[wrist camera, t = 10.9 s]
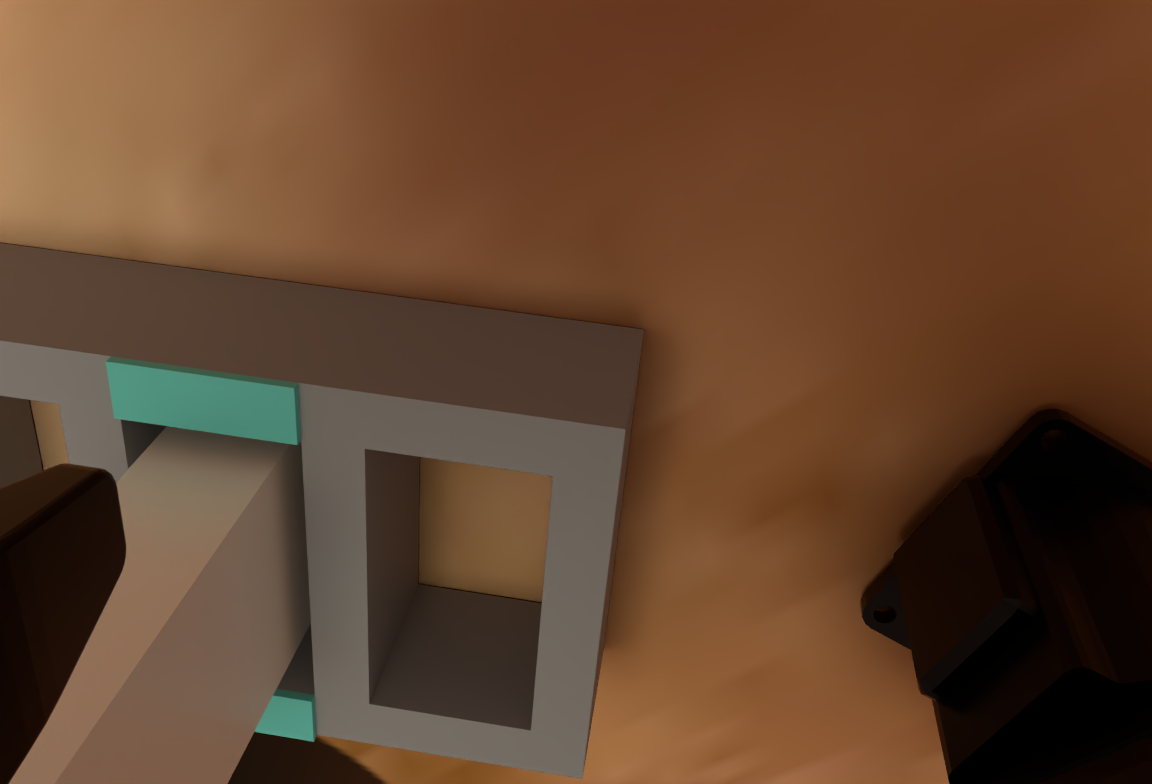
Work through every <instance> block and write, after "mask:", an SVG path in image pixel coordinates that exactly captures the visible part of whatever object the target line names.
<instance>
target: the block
mask: <svg viewBox="0 0 1152 784" xmlns="http://www.w3.org/2000/svg"><path fill="white" fill-rule="evenodd" d="M116 485H117V489H118V495H119V502H120V508H121V514H122V521H123V527H124V533H125V539H126V559H125V564H124V567H123V570H122V573H121V575H120V577H119V579H118V581H117V583H116V585H115V588H114V590H113V592H112V594H111V596H110V598H109V600H108V602H107V604H106V606H105V608H104V610H103V612H102V614H101V616H100V618H99V620H98V622H97V624H96V626H95V628H94V630H93V632H92V634H91V636H90V638H89V640H88V642H87V644H86V646H85V648H84V650H83V652H82V654H81V656H80V658H79V660H78V662H77V664H76V666H75V668H74V671H73V673H72V675H71V677H70V679H69V681H68V683H67V685H66V687H65V689H64V691H63V693H62V695H61V697H60V699H59V701H58V703H57V704H56V706H55V708H54V710H53V712H52V714H51V716H50V718H49V719H48V721H47V723H46V725H45V726H44V728H43V730H42V731H41V733H40V735H39V736H38V738H37V740H36V741H35V743H34V745H33V746H32V748H31V750H30V751H29V753H28V754H27V756H26V757H25V759H24V761H23V762H22V764H21V765H20V767H19V768H18V770H17V772H16V773H15V775H14V776H13V778H12V779H11V781H10V783H9V784H227V783H228V781H229V779H230V778H231V775H232V773H233V772H234V770H235V768H236V766H237V764H238V762H239V760H240V758H241V756H242V754H243V752H244V750H245V749H246V747H247V745H248V743H249V741H250V739H251V737H252V735H253V733H254V731H255V729H256V727H257V725H258V724H259V722H260V720H261V718H262V716H263V714H264V712H265V710H266V708H267V706H268V704H269V702H270V700H271V698H272V697H273V695H274V693H275V691H276V689H277V687H278V685H279V683H280V681H281V679H282V677H283V675H284V673H285V671H286V670H287V668H288V666H289V664H290V662H291V660H292V658H293V656H294V654H295V652H296V650H297V648H298V646H299V645H300V643H301V641H302V639H303V637H304V635H305V633H306V631H307V629H308V627H309V625H310V623H311V615H310V596H309V577H308V558H307V539H306V520H305V501H304V483H303V464H302V445H301V440H300V442H299V443H298V445H293V444H286V443H279V442H272V441H265V440H259V439H252V438H245V437H238V436H231V435H224V434H218V433H211V432H204V431H197V430H190V429H183V428H177V427H170V426H167V427H166V428H165V429H164V430H163V431H162V432H161V433H160V434H159V436H158V437H157V438H156V439H155V440H154V441H153V442H152V443H151V444H150V446H149V447H148V448H147V449H146V450H145V451H144V452H143V453H142V454H141V455H140V457H139V458H138V459H137V460H136V461H135V462H134V463H133V464H132V465H131V467H130V468H129V469H128V470H127V471H126V472H125V473H124V474H123V475H122V477H121V478H120V479H119V480H118V481H117V482H116Z"/></svg>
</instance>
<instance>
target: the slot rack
mask: <svg viewBox="0 0 1152 784" xmlns="http://www.w3.org/2000/svg"><path fill="white" fill-rule="evenodd" d="M643 334H644V330H643V329H636V328H629V327H621V326H614V325H606V324H599V323H591V322H584V321H577V320H569V319H562V318H554V317H547V316H539V315H532V314H525V313H517V312H510V311H502V310H495V309H487V308H480V307H472V306H465V305H458V304H450V303H443V302H435V301H428V300H420V299H413V298H406V297H398V296H391V295H383V294H376V293H368V292H361V291H354V290H346V289H339V288H331V287H324V286H316V285H309V284H302V283H294V282H287V281H279V280H272V279H264V278H257V277H250V276H242V275H235V274H227V273H220V272H212V271H205V270H198V269H190V268H183V267H175V266H168V265H160V264H153V263H146V262H138V261H131V260H123V259H116V258H108V257H101V256H93V255H86V254H79V253H71V252H64V251H56V250H49V249H41V248H34V247H27V246H19V245H12V244H4V243H0V488H2V487H4V486H7V485H9V484H11V483H14V482H16V481H19V480H21V479H24V478H26V477H29V476H31V475H34V474H36V473H39V472H41V471H43V469H42V464H41V459H40V454H39V449H38V444H37V439H36V434H35V429H34V424H33V419H32V414H31V409H30V404H29V400H34V401H41V402H48V403H55V404H59V409H60V415H61V420H62V426H63V431H64V437H65V442H66V448H67V453H68V459H69V464H75V465H82V466H88V467H95V468H102V469H105V470H107V471H108V472H110V473H111V474H112V475H113V477H114V479H115V481H116V482H117V481H118V480H119V479H120V478H121V477H122V475H123V474H124V473H125V472H126V471H127V470H128V469H129V468H130V467H131V465H132V464H133V463H134V462H135V461H136V460H137V459H138V458H139V457H140V455H141V454H142V453H143V452H144V451H145V450H146V449H147V448H148V447H149V446H150V444H151V443H152V442H153V441H154V440H155V439H156V438H157V437H158V436H159V434H160V433H161V432H162V431H163V430H164V429H165V428H166V427H167V426H170V427H177V428H183V429H190V430H197V431H204V432H211V433H218V434H224V435H231V436H238V437H245V438H252V439H259V440H265V441H272V442H279V443H286V444H293V445H298V443H299V442H300V440H301V445H302V464H303V483H304V501H305V520H306V539H307V558H308V577H309V596H310V615H311V623H310V625H309V627H308V629H307V631H306V633H305V635H304V637H303V639H302V641H301V643H300V645H299V646H298V648H297V650H296V652H295V654H294V656H293V658H292V660H291V662H290V664H289V666H288V668H287V670H286V671H285V673H284V675H283V677H282V679H281V681H280V683H279V685H278V687H277V689H276V691H275V693H274V695H273V697H272V698H271V700H270V702H269V704H268V706H267V708H266V710H265V712H264V714H263V716H262V718H261V720H260V722H259V724H258V725H257V727H256V729H255V731H254V732H260V733H266V734H272V735H278V736H283V737H290V738H295V739H302V740H307V741H314V740H315V738H316V735H322V736H328V737H334V738H340V739H346V740H352V741H358V742H364V743H370V744H376V745H382V746H388V747H394V748H400V749H406V750H412V751H418V752H424V753H430V754H436V755H442V756H447V757H453V758H459V759H465V760H471V761H477V762H483V763H489V764H495V765H501V766H507V767H513V768H519V769H525V770H531V771H537V772H543V773H549V774H555V775H561V776H567V777H573V778H579V779H582V778H583V772H584V766H585V760H586V753H587V747H588V741H589V735H590V729H591V723H592V717H593V711H594V704H595V698H596V692H597V686H598V680H599V674H600V668H601V662H602V655H603V649H604V641H605V633H606V625H607V618H608V610H609V602H610V594H611V586H612V578H613V570H614V562H615V555H616V547H617V539H618V531H619V523H620V515H621V507H622V499H623V492H624V484H625V476H626V468H627V460H628V452H629V444H630V437H631V429H632V421H633V413H634V405H635V397H636V389H637V381H638V374H639V366H640V358H641V350H642V342H643ZM420 457H425V458H432V459H439V460H445V461H452V462H459V463H466V464H473V465H480V466H486V467H493V468H500V469H507V470H514V471H521V472H528V473H534V474H541V475H548V476H553V481H552V492H551V504H550V515H549V527H548V539H547V550H546V562H545V573H544V585H543V596H542V603H536V602H530V601H523V600H517V599H510V598H504V597H498V596H491V595H485V594H478V593H472V592H465V591H459V590H452V589H446V588H440V587H433V586H427V585H420V584H418V569H419V486H420Z"/></svg>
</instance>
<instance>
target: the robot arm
mask: <svg viewBox="0 0 1152 784" xmlns="http://www.w3.org/2000/svg"><path fill="white" fill-rule="evenodd" d="M1056 429H1057V430H1061V431H1063V432H1062V433H1061V435H1060V436H1059V437H1058V438H1056V439H1055V440H1051V441H1045V440H1041V438H1042V437H1043V435H1044V434H1045V433H1047V432H1048V431H1050V430H1056ZM893 558H894V563H893V564H892V565H891V566H890V567H889V568H888V569H887V570H886V571H885V572H884V573H883V574H882V575H881V576H880V577H879V578H878V579H877V581H876V582H875V583H874V584H873V585H872V586H871V587H870V588H869V589H868V590H867V591H866V592H865V593H864V595H863V597H862V598H861V612H862V618H863V620H864V622H865V624H866V625H868V626H869V627H870V628H871V629H873V630H875V631H877V632H879V633H881V634H883V635H884V636H886V637H888V638H890V639H892V640H894V641H896V642H897V643H899V644H901V645H903V646H905V647H907V648H909V649H910V650H911V651H912V657H913V662H914V667H915V672H916V677H917V683H918V688H919V691H920V692H921V694H922V695H924V696H926V697H928V698H930V699H932V702H933V707H934V712H935V716H936V721H937V726H938V731H939V736H940V741H941V746H942V751H943V755H944V760H945V765H946V770H947V775H948V780H949V783H950V784H1152V462H1150V461H1149V460H1147V459H1145V458H1143V457H1142V456H1140V455H1138V454H1137V453H1135V452H1133V451H1132V450H1130V449H1128V448H1126V447H1125V446H1123V445H1121V444H1120V443H1118V442H1116V441H1115V440H1113V439H1111V438H1109V437H1108V436H1106V435H1104V434H1103V433H1101V432H1099V431H1098V430H1096V429H1094V428H1092V427H1091V426H1089V425H1087V424H1086V423H1084V422H1082V421H1080V420H1079V419H1077V418H1075V417H1074V416H1072V415H1070V414H1069V413H1067V412H1064V411H1061V410H1058V409H1047V410H1044V411H1041V412H1038V413H1036V414H1035V415H1033V416H1032V417H1031V418H1029V420H1028V421H1027V422H1026V423H1025V424H1024V425H1023V426H1022V427H1021V428H1020V429H1019V430H1018V431H1017V432H1016V433H1015V434H1014V435H1013V436H1012V438H1011V439H1010V440H1009V441H1008V442H1007V443H1006V444H1005V445H1004V446H1003V447H1002V448H1001V449H1000V450H999V451H998V452H997V453H996V454H995V456H994V457H993V458H992V459H991V460H990V461H989V462H988V463H987V464H986V465H985V466H984V467H983V468H982V469H981V470H980V471H979V472H978V474H977V475H975V476H972V477H969V478H966V479H964V480H963V481H962V482H961V483H960V484H959V485H958V486H957V487H956V488H955V489H954V490H953V491H952V492H951V493H950V494H949V495H948V497H947V498H946V499H945V500H944V501H943V502H942V503H941V504H940V505H939V506H938V507H937V508H936V509H935V510H934V511H933V513H932V514H931V515H930V516H929V517H928V518H927V519H926V520H925V521H924V522H923V523H922V524H921V525H920V526H919V527H918V528H917V530H916V531H915V532H914V533H913V534H912V535H911V536H910V537H909V538H908V539H907V540H906V541H905V542H904V543H903V544H902V546H901V547H900V548H899V549H898V550H897V551H896V552H895V553H894V556H893ZM125 559H126V539H125V533H124V527H123V521H122V514H121V508H120V502H119V495H118V489H117V485H116V481H115V479H114V477H113V475H112V474H111V473H110V472H108V471H107V470H105V469H102V468H95V467H88V466H82V465H75V464H59V465H56V466H54V467H51V468H49V469H46V470H44V471H41V472H39V473H36V474H34V475H31V476H29V477H26V478H24V479H21V480H19V481H16V482H14V483H11V484H9V485H7V486H4V487H2V488H0V784H9V783H10V781H11V779H12V778H13V776H14V775H15V773H16V772H17V770H18V768H19V767H20V765H21V764H22V762H23V761H24V759H25V757H26V756H27V754H28V753H29V751H30V750H31V748H32V746H33V745H34V743H35V741H36V740H37V738H38V736H39V735H40V733H41V731H42V730H43V728H44V726H45V725H46V723H47V721H48V719H49V718H50V716H51V714H52V712H53V710H54V708H55V706H56V704H57V703H58V701H59V699H60V697H61V695H62V693H63V691H64V689H65V687H66V685H67V683H68V681H69V679H70V677H71V675H72V673H73V671H74V668H75V666H76V664H77V662H78V660H79V658H80V656H81V654H82V652H83V650H84V648H85V646H86V644H87V642H88V640H89V638H90V636H91V634H92V632H93V630H94V628H95V626H96V624H97V622H98V620H99V618H100V616H101V614H102V612H103V610H104V608H105V606H106V604H107V602H108V600H109V598H110V596H111V594H112V592H113V590H114V588H115V585H116V583H117V581H118V579H119V577H120V575H121V573H122V570H123V567H124V564H125ZM880 606H890V607H892V609H890V610H889V611H884V612H881V611H877V610H875V609H877V608H878V607H880Z"/></svg>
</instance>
